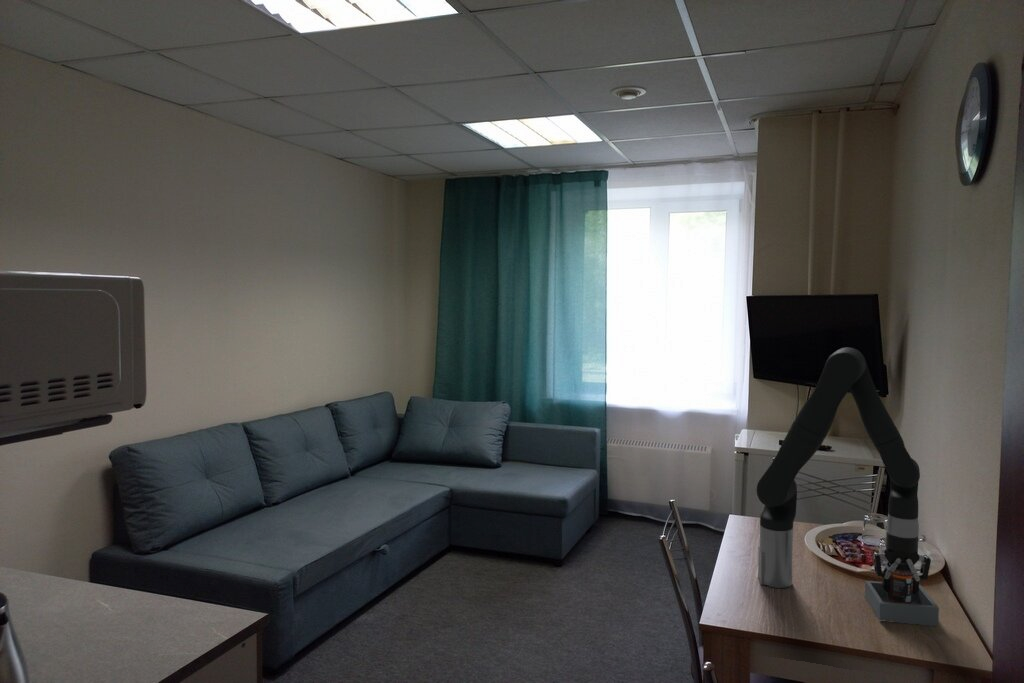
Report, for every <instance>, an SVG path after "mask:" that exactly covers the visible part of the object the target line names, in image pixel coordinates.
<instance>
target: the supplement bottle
mask: <svg viewBox="0 0 1024 683" xmlns="http://www.w3.org/2000/svg"><path fill="white" fill-rule="evenodd" d="M889 579H890V588H889V592H888V599H889V600H890V601H891V602H893V603H904V604H911V603H912V600H913V574H912V572H911V570H910V569H909V566H908V564H907V563H904V562H900V563H899V565H898V566H897V568H896V569H895V571H894V572H893V573H891V576H890V577H889Z"/></svg>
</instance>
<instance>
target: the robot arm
mask: <svg viewBox="0 0 1024 683" xmlns="http://www.w3.org/2000/svg"><path fill="white" fill-rule="evenodd" d="M848 392H849V393H850V394H851V396H852V397H853V399H854V402H855V404H856V406H857V409H858V411H859V412H858V413H859V416H860V418H861V419H860V420H861V422H862V424H863V426H864V430H865V432H866V433H867V435H868V436H869V438H870V441H871V442H872V444H873V446H874V448H875V450H876V451H877V452H878V454H879V456H880V458H881V461H882V464H883V465H884V467H885V470H886V472H887V474H888V477H889V489H890V491H889V497H888V504H887V505H888V506H887V508H888V509H887V519H886V526H885V530H886V532H885V534H886V535H885V536H886V537H885V550H884V552H877V551H873V552H872V559H873V560H872V561H873V566H874V569H873V570H874V572H875V574H876V575H877V576H878V577H881V582H882V587H883V589H884V590H885V591H886V592H889V588H890V579H889V577H890V576H891V573H893V572H894V571H895V569H896V568H897V566H898V565H899V563H900V562H904V563H907V564H908V566H909V569H910V570H911V572H912V574H913V594H916V592H918V591H919V585H920V581H921V580H928V578H929V574H930V573H929V572H930V567H931V562H932V559H931V558H930V557H929V556H928V555H927V554H924V555H920V554H919V533H920V524H919V498H918V492H919V482H920V478H921V473H920V472H921V470H920V466H919V464H918V462H917V461H916V460H914V459H913V458H912V457H911V455H910V453H909V452H908V450H907V449H906V446H905V441H904V440H903V437H902V435H901V433H900V431H899V430H898V428H897V426H896V424H895V423H894V421H893V419H892V417H891V416H890V413H889V412H888V410H887V408H886V406H885V405H884V403H883V401H882V399H881V396H880V395H879V393H878V390H877V389H876V386H875V383H874V382H873V378H872V376H871V373H870V371H869V368H868V365H867V362H866V359H865V356H864V355H863V354H862V352H860V351H859V350H858V349H856V348H853V347H847V346H846V347H841V348H839V349H837V350H836V351H834V352H833V353H832V354H830V355H829V356H828V358H827V360H826V361H825V365H824V367H823V370H822V372H821V374H820V377H819V379H818V381H817V383H816V386H815V388H814V390H813V392H812V393H811V394H810V396H809V397H808V398H807V400H806V402H804V404H803V406H802V407H801V408H800V411H799V412H798V413H797V415H796V417H795V418H794V421H793V422H792V424H791V425H790V427H789V430H788V431H787V433H786V436H785V437H784V438H783V441H782V443H781V445H780V447H779V449H778V452H777V454H776V455H775V458H774V459H773V461H772V462H771V463H770V465H769V466H768V468H767V469H766V471H765V472H764V473H763V475H762V476H761V477H760V479H759V480H758V483H757V484H756V496H757V497H758V500H759V501H760V503H761V504H762V505H764V508H763V510H762V512H761V513H760V516H759V546H758V556H757V557H758V560H757V561H758V563H757V564H758V566H757V568H758V570H757V576H758V581H759V583H760V585H761V586H762V585H764V586H766V585H767V586H766V587H771V588H775V589H785V588H790V587H791V586H792V584H793V557H794V556H793V555H794V553H793V551H794V549H793V548H794V547H793V546H794V521H795V518H796V514H797V503H798V502H797V501H798V500H797V499H798V486H797V483H796V480H795V479H796V477H797V475H798V473H799V472H800V471H801V469H803V467H805V465H806V464H807V463H808V462H809V460H810V459H811V458H812V457H813V456H814V455H815V453H816V452H818V450H819V449H820V447H821V445H823V443H824V441H825V439H826V437H827V435H828V434H829V432H830V430H831V428H832V426H833V423H834V420H835V417H836V415H837V412H838V408H839V406H840V404H841V402H842V401H843V399H844V398H845V396H846V395H847V394H848ZM884 558H885V559H886V560H887V562H886V564H885V565H884V568H883V569H882V562H883V560H884ZM918 561H919V562H920V564H921V565H920V570H919V572H918V570H917V569H916V567H915V565H916V564H917V563H918Z"/></svg>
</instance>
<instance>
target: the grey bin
mask: <svg viewBox="0 0 1024 683" xmlns="http://www.w3.org/2000/svg"><path fill="white" fill-rule="evenodd" d="M864 587H865V588H864V599H865V600H866V602H867V604H868V603H869V604H868V605H869V607H870V606H871V607H870V609H871V608H872V609H873V610H872V609H871V610H872V612H873V611H874V612H873V614H874V613H875V614H876V615H875V614H874V615H875V616H877V617H878V618H877V617H876V618H877V620H878V619H879V620H885V621H893V622H900V623H899V624H904V623H908V624H907V625H916V624H919V625H920V626H929V627H930V626H931V627H933V626H934V627H939V616H940V615H939V614H940V613H939V612H940V607H939V606H938V605H937V604H936V602H935V601H934V600H933V598H931V596H930V594H928V592H927V591H926V590H925V589H924V587H922V585H921V584H919V591H918V592H916V594H913V600H912V603H911V604H904V603H893V602H891V601H890V600H889V599H888V592H886V591H885V590H884V589H883V587H882V581H875V580H874V581H873V580H865V582H864ZM879 620H878V621H879ZM919 625H918V626H919Z"/></svg>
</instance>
